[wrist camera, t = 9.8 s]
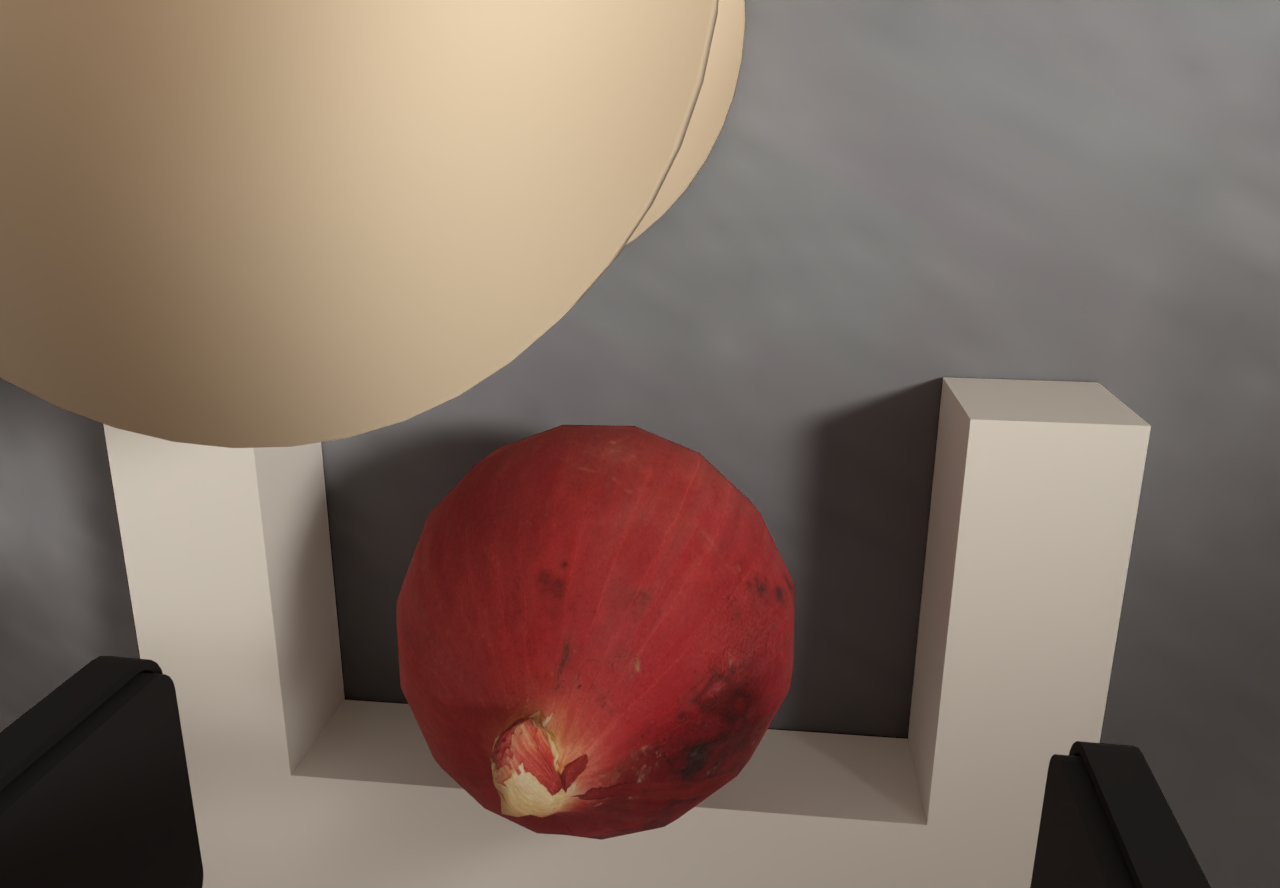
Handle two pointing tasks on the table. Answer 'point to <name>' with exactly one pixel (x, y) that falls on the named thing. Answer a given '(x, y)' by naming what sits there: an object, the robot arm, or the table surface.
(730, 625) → the onion
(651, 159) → the spool
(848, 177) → the table surface
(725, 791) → the notch board
